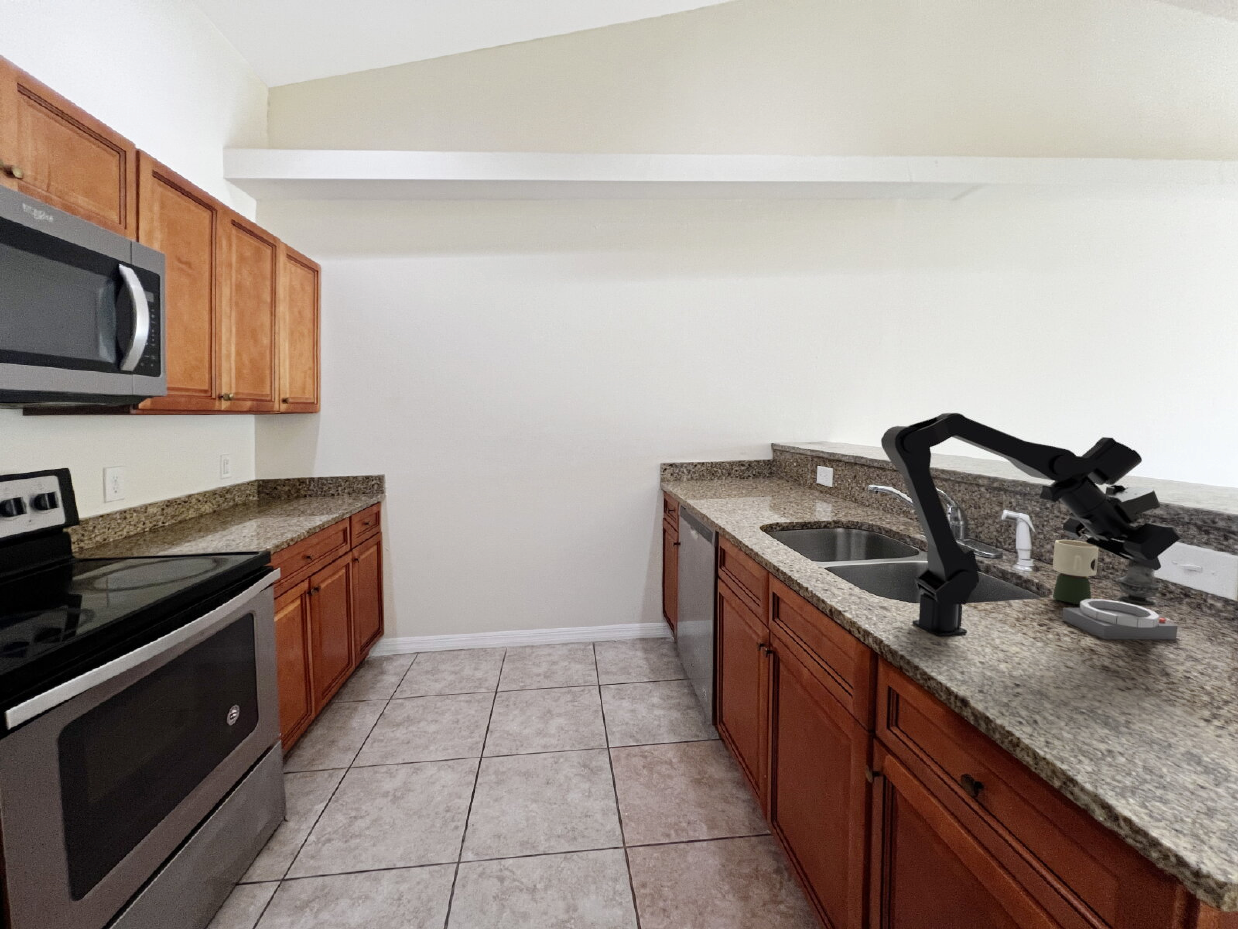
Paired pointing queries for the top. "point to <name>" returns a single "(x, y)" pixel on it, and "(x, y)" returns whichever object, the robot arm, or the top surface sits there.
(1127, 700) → the top surface
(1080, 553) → the character mug
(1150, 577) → the grey stone finial
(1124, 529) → the robot arm
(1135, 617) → the faceted bowl on plate
